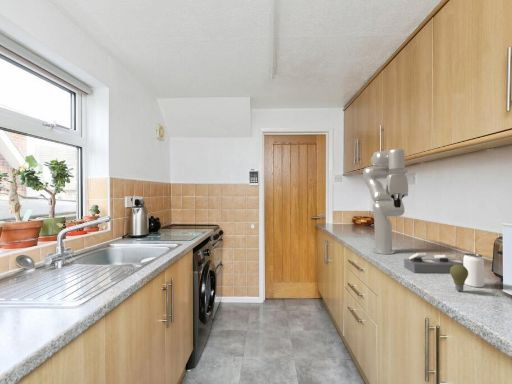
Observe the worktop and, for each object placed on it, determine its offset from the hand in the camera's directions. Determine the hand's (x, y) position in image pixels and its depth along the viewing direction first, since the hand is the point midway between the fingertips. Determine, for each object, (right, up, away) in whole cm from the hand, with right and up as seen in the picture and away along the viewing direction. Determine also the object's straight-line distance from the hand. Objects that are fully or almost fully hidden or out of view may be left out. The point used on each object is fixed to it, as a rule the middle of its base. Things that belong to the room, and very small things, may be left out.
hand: (397, 207), depth 146 cm
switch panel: (+11, -29, -15) cm, 34 cm away
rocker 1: (+2, -23, -14) cm, 27 cm away
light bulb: (+2, -29, -42) cm, 51 cm away
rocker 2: (+14, -22, -15) cm, 31 cm away
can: (+12, -29, -36) cm, 48 cm away
